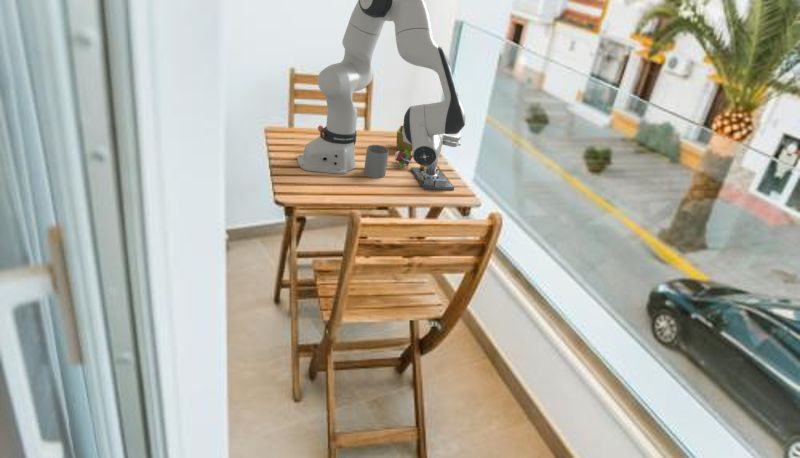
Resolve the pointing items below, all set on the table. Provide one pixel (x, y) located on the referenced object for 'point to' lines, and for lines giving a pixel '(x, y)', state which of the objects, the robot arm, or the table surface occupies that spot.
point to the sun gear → (426, 168)
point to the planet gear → (430, 172)
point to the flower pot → (400, 142)
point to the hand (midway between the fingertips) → (433, 125)
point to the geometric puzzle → (403, 157)
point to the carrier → (433, 181)
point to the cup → (376, 161)
